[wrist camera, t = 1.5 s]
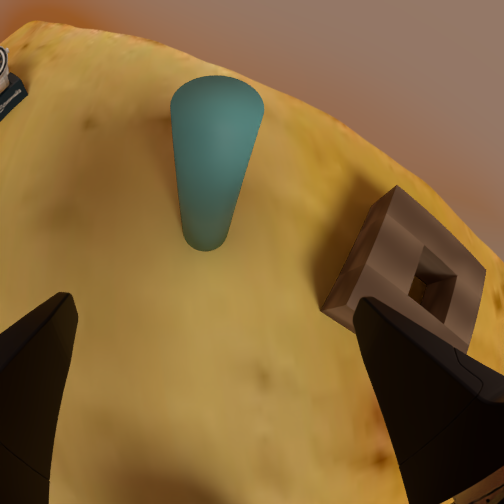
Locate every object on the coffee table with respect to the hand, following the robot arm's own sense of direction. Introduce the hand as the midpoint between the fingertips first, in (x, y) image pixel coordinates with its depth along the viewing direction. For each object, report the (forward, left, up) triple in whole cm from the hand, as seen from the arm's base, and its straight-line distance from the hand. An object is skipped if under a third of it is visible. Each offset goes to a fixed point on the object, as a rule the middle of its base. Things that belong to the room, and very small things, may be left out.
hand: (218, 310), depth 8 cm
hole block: (+17, -7, -14) cm, 23 cm away
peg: (+3, +7, -14) cm, 16 cm away
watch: (-13, +36, -14) cm, 40 cm away
